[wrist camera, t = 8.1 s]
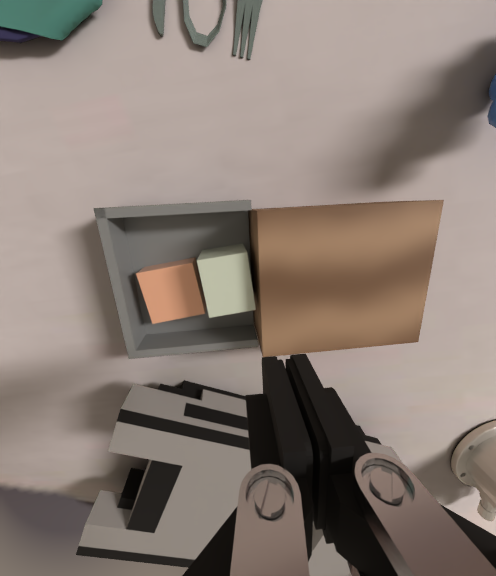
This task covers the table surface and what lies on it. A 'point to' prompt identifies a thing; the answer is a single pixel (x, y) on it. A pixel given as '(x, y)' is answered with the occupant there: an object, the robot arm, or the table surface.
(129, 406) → the game console
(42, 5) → the cutlery set
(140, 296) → the bin
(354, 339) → the brown box
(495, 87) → the grapes
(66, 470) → the table surface
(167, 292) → the terracotta block
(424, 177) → the table surface
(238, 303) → the sage block
